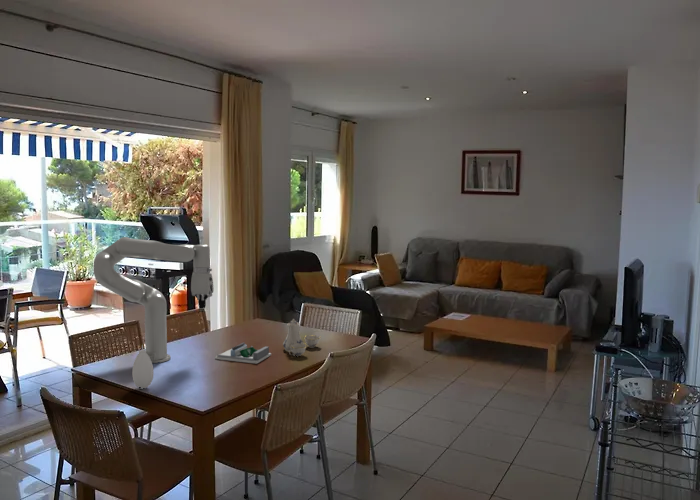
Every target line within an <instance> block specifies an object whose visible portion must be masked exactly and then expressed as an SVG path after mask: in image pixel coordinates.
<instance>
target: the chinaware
mask: <svg viewBox="0 0 700 500" xmlns="http://www.w3.org/2000/svg"><path fill="white" fill-rule="evenodd" d="M300 324H301V323H300V322H298V321H297V320H295V318H292V320H290V322H288V323H287V324H286V325H287V335H286V337H285V339H284V341H283V343H282V345H283V348H284V349H285V350H284V351H285V352H287V353H289V355H290V356H294V357H296V356H297V358H298V356H301V355H302V356H303V355H304V353H305V352H306V348H307V347H308V348H311V349H312V348H316V346H317V345H318V344H319V342H320V339H321V336H320V335H315V334H311V335H305V336H304V337H303V339H304V341H305V343H304V341H303V339H302V337H301V334H300ZM291 353H292V354H291ZM295 355H296V356H295ZM302 356H301V357H302Z"/></svg>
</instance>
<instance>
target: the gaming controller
mask: <svg viewBox="0 0 700 500" xmlns="http://www.w3.org/2000/svg"><path fill="white" fill-rule="evenodd" d="M258 350H259V349H256V348H254V346H253V345H251V346H250V347H247V348H246V349H244V348H242V349H241V350H240V353H241V355H242V356H243V357H246V358H248V356H249V355H253V353H254V352H256V351H258Z"/></svg>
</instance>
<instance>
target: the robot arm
mask: <svg viewBox="0 0 700 500" xmlns="http://www.w3.org/2000/svg"><path fill="white" fill-rule="evenodd" d="M210 251H211V250H210V246H209V245H208V244H185V243H184V244H180V245H179V244H168V243H164V242H162V241H157V240H153V239H152V240H150V239H139V238H130V237H126V236H124V237H120V238H119V239H118V240H116V241H114V242H113V243H112V244H111V245H109V246H107V247H106V248H104V249H103V250H102V251H100V252H99V253H98V254H97V255H96V256H95V257H94V260H93V270H92V271H93V276H94V278H95V280H96V281H97V282H98V283H99V284H100V285H101V286H102V287H104V288H105V289H107V290H109V291H111V292H113V294H116V295H119V296H120V297H122V298H124V299H125V300H126V301H128V302H132V303H137V304H139V305H142V306H143V307H144V333H145V334H144V338H145V339H144V340H145V341H144V343H145V351H146V353H147V354H148V356H149V357H150V359H151V362H152V364H157V363H158V362H160V363H164V362H168V361H170V360H171V355H170V354H168V348H167V347H168V337H167V336H168V334H167V332H168V331H167V327H168V325H167V311H168V309H167V307H168V306H167V304H168V303H167V300H166V297H165V296H164V294H163V293H162V292H161V291H159V290H158V289H156V288H154V287H153V286H150V285H148V284H146V283H144V282H143V281H141V280H139V279H135V278H134V279H131V278H128V277H126V276H124V275H123V274H121V273H119V272H117V271H116V270H115V268H114V267H115V266H116V264H119V262H121V261H122V260H123V259H125V258H134V259H135V258H137V259H148V260H159V261H161V260H162V261H171V262H179V263H180V262H181V263H182V262H183V263H188V262H191V261H192V260H193V266H192V267H193V272H192V275H191V280H190V281H191V282H190V291H191V296H192V297H195V299H196V300H197V301H198V309H199V310H200V309H201V310H204V309H206V304H207V302H206V300H208V298H211V297H213V293H214V278H213V275H212V273H211V272H212V271H213V269H212V268H211V267H210V264H211V263H210V261H211V260H210V255H211V253H210ZM158 364H159V363H158Z"/></svg>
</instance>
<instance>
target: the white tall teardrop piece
mask: <svg viewBox="0 0 700 500" xmlns="http://www.w3.org/2000/svg"><path fill="white" fill-rule="evenodd" d="M131 370H132V375H131V376H132V379H133V383H134V384H135V386H136V387H137V388H139V387H141V388H145V389H147V388H148V387H149V386H150V385H151V384H152V382H153V379H154V375H155V374H154V366H153V363H152V362H151V359H150V357H149V356H148V354H147V353H146V349H144V346H143V343H142V345H141V350H139V351H138V354H137V355H136V357H135V359H134V361H133V365H132V369H131ZM146 387H147V388H146ZM141 388H140V389H141Z"/></svg>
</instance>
